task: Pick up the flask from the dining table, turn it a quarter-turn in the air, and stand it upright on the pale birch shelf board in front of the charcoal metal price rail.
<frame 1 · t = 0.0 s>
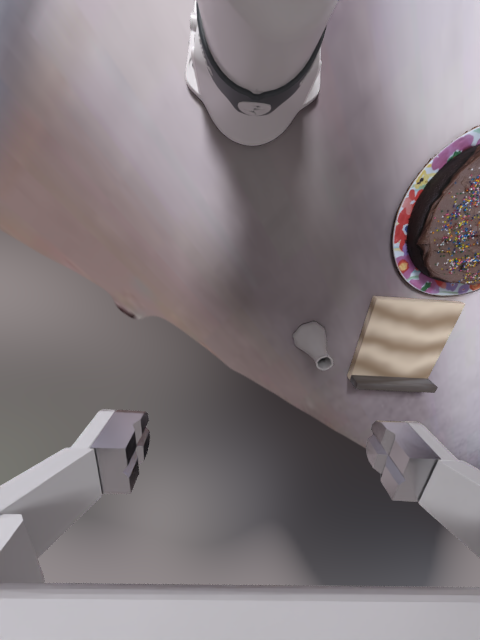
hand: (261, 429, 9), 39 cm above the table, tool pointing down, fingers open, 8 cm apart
chocolate cake: (467, 219, 43), on the table
shelf board: (398, 341, 52), on the table
flask: (309, 335, 52), on the table
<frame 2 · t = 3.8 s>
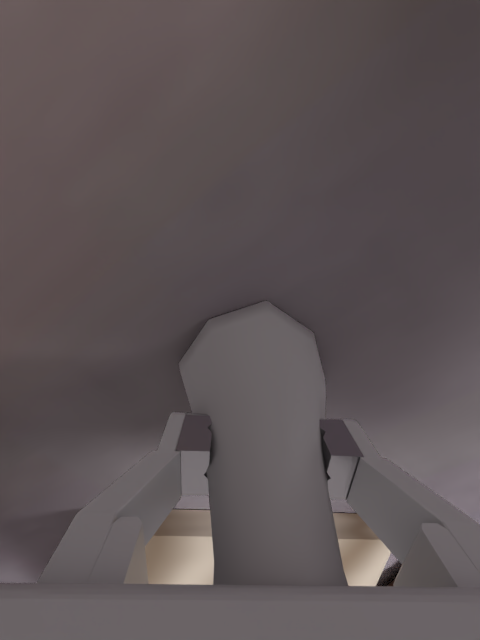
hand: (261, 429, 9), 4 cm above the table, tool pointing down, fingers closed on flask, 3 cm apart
shelf board: (231, 586, 19), on the table
flask: (252, 367, 13), on the table, touching gripper
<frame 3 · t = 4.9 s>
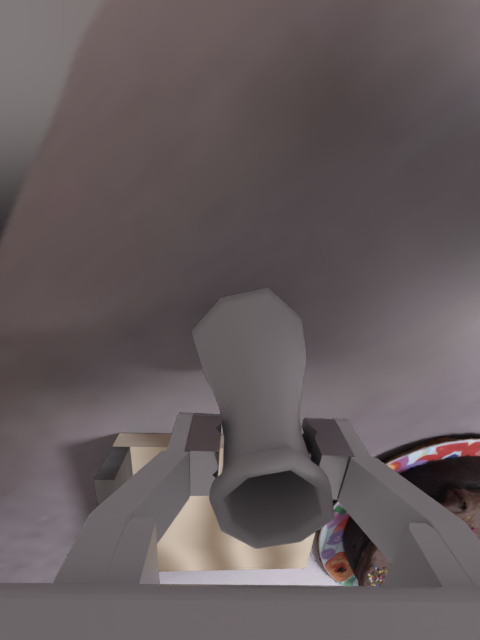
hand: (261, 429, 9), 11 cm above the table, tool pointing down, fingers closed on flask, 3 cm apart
chocolate cake: (427, 517, 29), on the table
shelf board: (223, 500, 26), on the table
flask: (250, 341, 16), point 4 cm above the table, touching gripper
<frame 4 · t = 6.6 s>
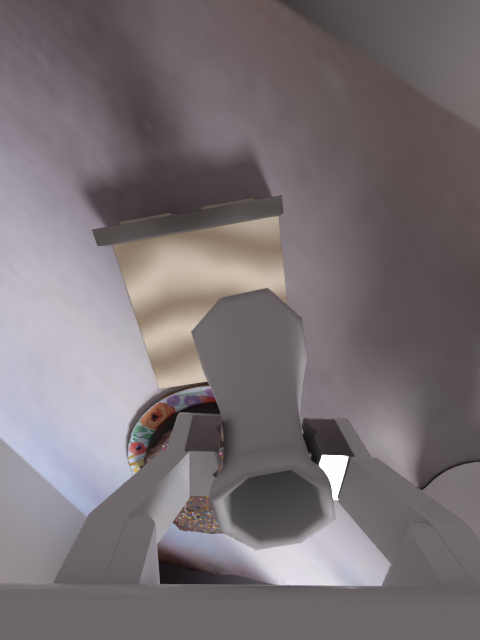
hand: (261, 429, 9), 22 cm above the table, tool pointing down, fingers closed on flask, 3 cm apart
chocolate cake: (218, 454, 38), on the table
shelf board: (211, 303, 30), on the table
flask: (250, 342, 16), point 14 cm above the table, touching gripper
when the fingers open (9 cm above the table, at t = 8.4 s): flask stays where it is, resting on shelf board.
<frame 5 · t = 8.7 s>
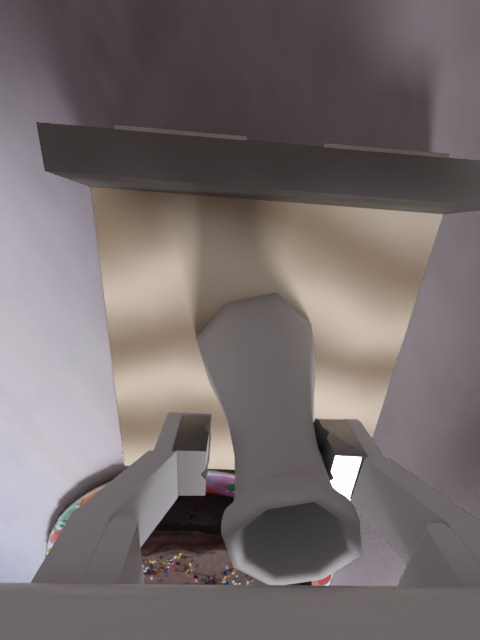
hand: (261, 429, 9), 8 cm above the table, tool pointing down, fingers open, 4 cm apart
chocolate cake: (195, 555, 25), on the table
shelf board: (254, 341, 16), on the table
flask: (257, 348, 15), point 1 cm above the table, touching gripper, shelf board
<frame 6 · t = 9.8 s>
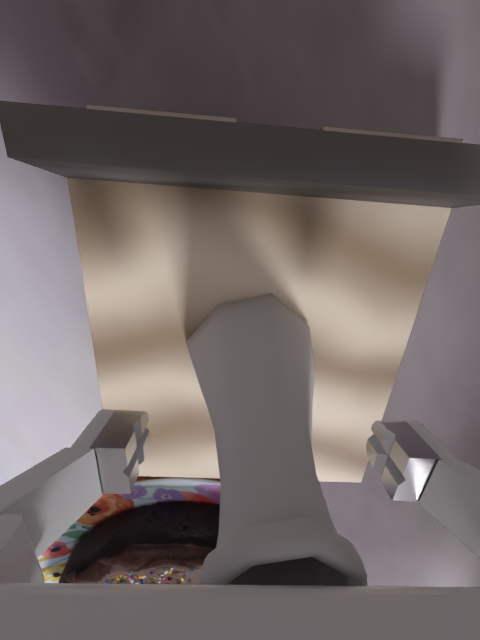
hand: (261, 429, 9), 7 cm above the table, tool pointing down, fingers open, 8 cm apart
chocolate cake: (189, 564, 24), on the table
shelf board: (249, 344, 15), on the table
flask: (251, 352, 14), point 1 cm above the table, touching shelf board
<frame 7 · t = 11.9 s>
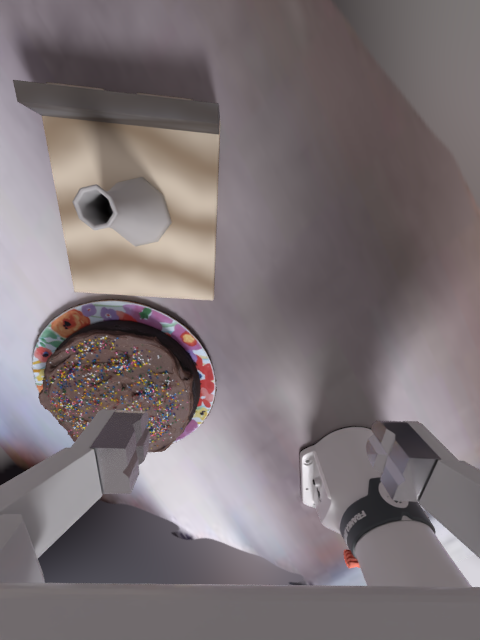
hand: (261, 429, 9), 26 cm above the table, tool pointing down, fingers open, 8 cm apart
chocolate cake: (130, 379, 39), on the table
shelf board: (143, 214, 29), on the table
flask: (140, 213, 28), point 1 cm above the table, touching shelf board
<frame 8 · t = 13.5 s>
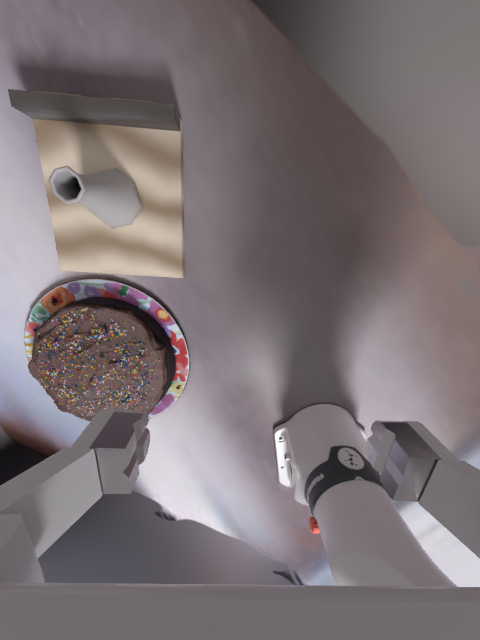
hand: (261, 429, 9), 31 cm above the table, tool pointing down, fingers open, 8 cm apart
chocolate cake: (113, 355, 43), on the table
shelf board: (120, 202, 34), on the table
flask: (115, 200, 33), point 1 cm above the table, touching shelf board
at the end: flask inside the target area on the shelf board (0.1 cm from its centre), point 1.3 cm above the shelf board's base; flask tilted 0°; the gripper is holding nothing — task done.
